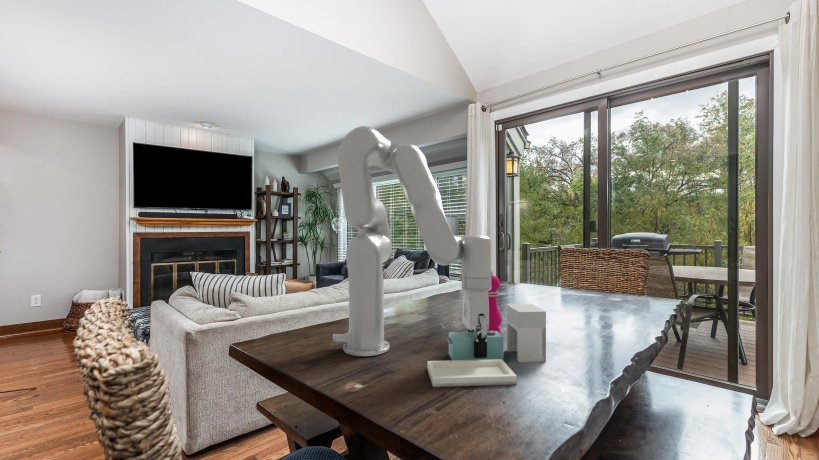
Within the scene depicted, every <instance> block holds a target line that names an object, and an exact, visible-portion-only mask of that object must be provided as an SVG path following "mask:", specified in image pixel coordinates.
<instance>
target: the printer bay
mask: <svg viewBox="0 0 819 460" xmlns="http://www.w3.org/2000/svg"><path fill="white" fill-rule="evenodd" d="M505 329H506V330H505V331H506V341H505V342H506V352H516V362H518V363H539V362H540V363H541V362H542V363H545V362H547V311H546V310H544V309H542V308H540V307H538V306H536V305H534V304H532V303H520V304H518V303H516V304H515V303H514V304H513V303H510V304H509V303H507V304H506V328H505Z"/></svg>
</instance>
